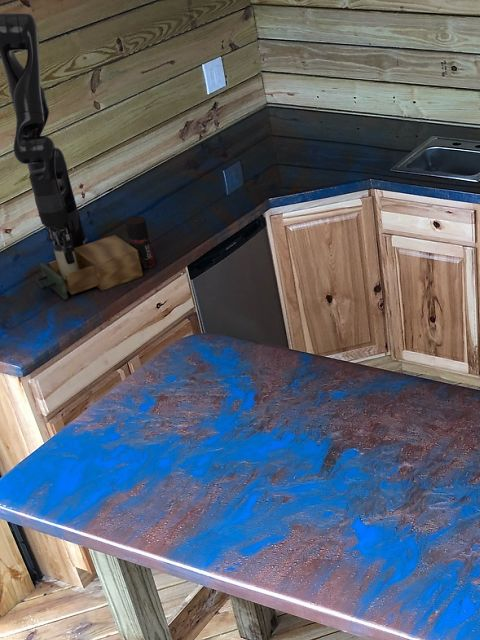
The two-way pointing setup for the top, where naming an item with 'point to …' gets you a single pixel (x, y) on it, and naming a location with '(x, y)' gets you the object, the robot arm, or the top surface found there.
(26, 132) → the robot arm
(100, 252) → the cabinet
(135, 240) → the deodorant
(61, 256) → the tin can
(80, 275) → the drawer
